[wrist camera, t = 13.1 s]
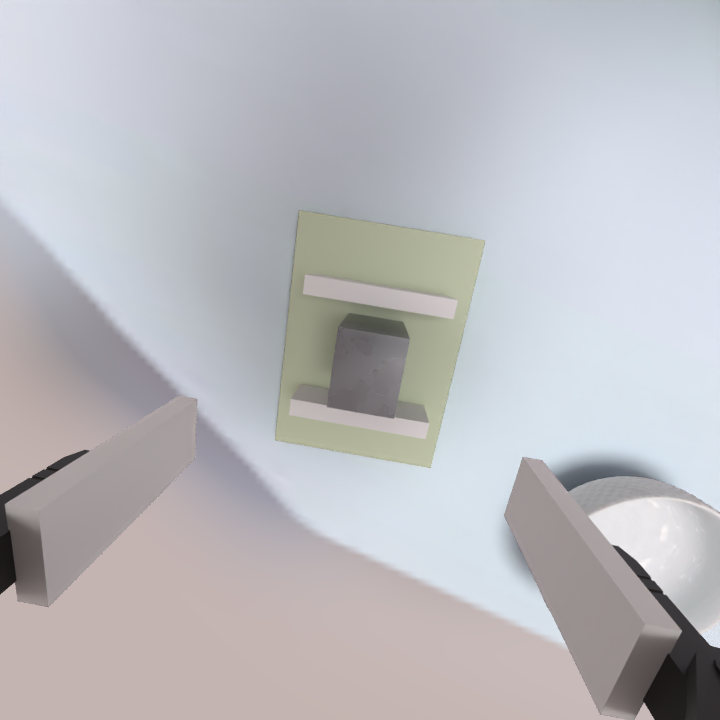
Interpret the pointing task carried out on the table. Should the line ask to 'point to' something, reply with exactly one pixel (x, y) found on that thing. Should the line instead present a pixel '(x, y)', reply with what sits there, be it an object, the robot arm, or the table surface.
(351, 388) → the brushed metal block
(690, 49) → the table surface
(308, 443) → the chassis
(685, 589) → the cereal bowl
